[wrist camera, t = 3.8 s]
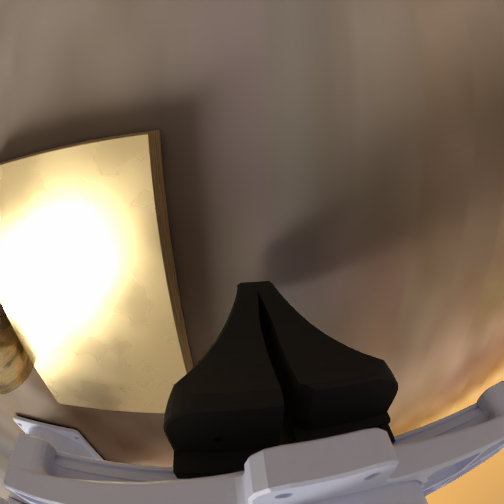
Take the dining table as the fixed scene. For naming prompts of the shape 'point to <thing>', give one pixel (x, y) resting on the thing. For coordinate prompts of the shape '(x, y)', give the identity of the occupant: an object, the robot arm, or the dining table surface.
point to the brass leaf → (91, 275)
